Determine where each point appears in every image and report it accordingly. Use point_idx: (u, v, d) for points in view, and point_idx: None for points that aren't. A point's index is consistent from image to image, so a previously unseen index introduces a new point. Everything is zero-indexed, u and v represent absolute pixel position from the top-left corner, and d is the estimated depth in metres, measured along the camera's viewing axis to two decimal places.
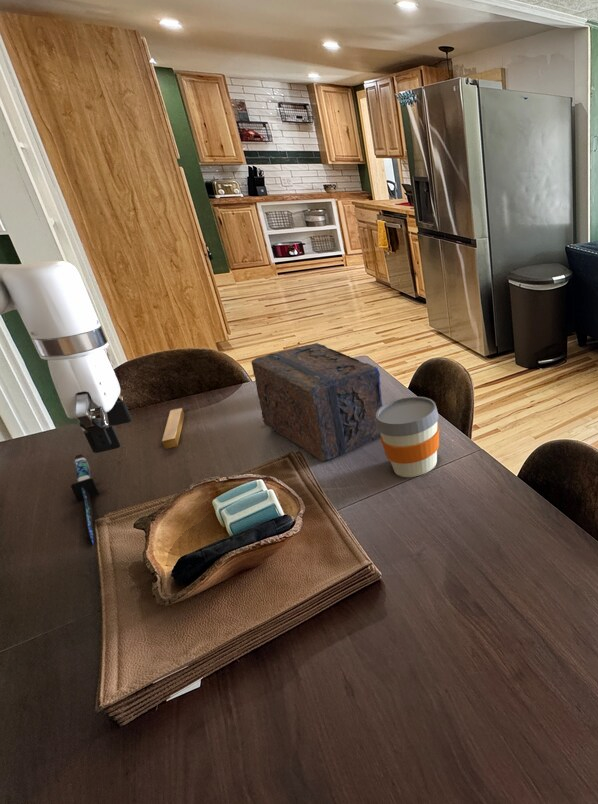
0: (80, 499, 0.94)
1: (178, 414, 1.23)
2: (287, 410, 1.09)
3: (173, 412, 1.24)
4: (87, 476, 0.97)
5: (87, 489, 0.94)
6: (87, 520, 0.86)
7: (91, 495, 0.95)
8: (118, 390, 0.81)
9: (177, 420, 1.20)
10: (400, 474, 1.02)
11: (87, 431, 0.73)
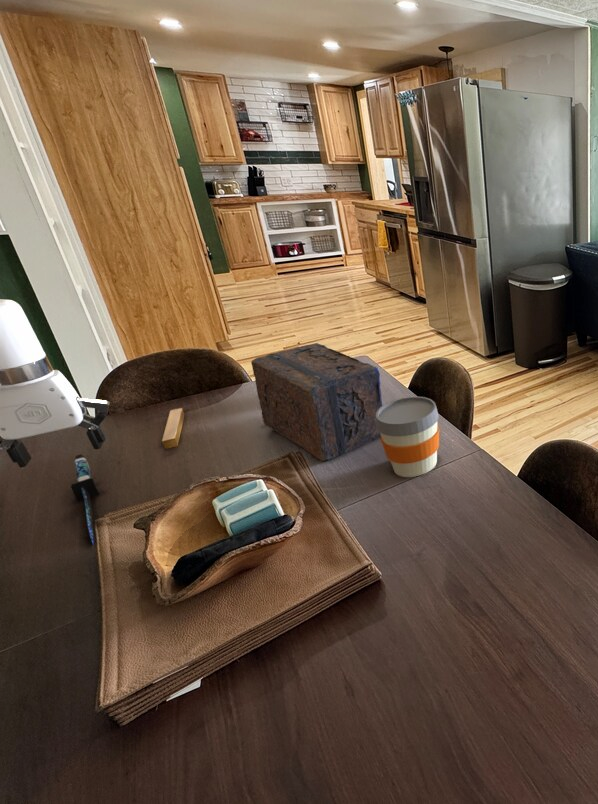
0: (80, 499, 0.94)
1: (178, 414, 1.23)
2: (287, 410, 1.09)
3: (173, 412, 1.24)
4: (87, 476, 0.97)
5: (87, 489, 0.94)
6: (87, 520, 0.86)
7: (91, 495, 0.95)
8: None
9: (177, 420, 1.20)
10: (400, 474, 1.02)
11: (98, 426, 0.89)
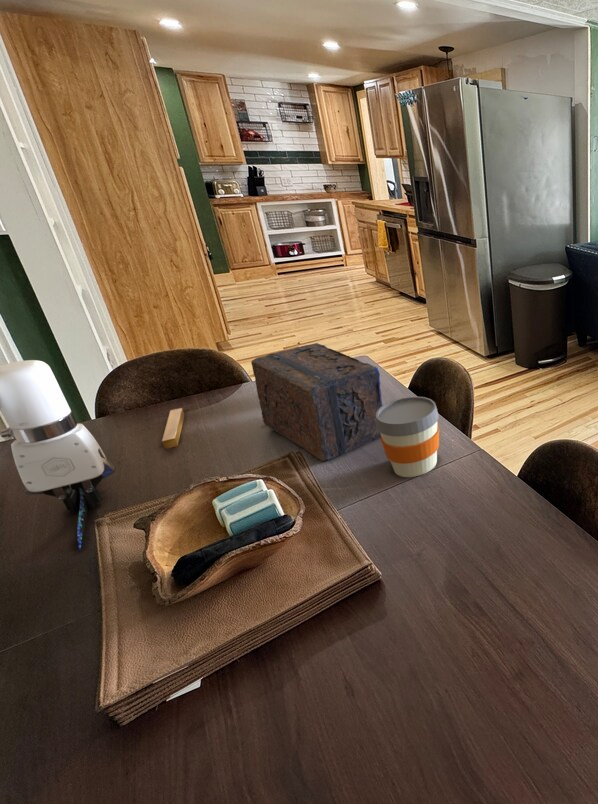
0: None
1: (178, 414, 1.23)
2: (287, 410, 1.09)
3: (173, 412, 1.24)
4: None
5: None
6: (78, 523, 0.85)
7: None
8: None
9: (177, 420, 1.20)
10: (400, 474, 1.02)
11: (94, 487, 0.92)
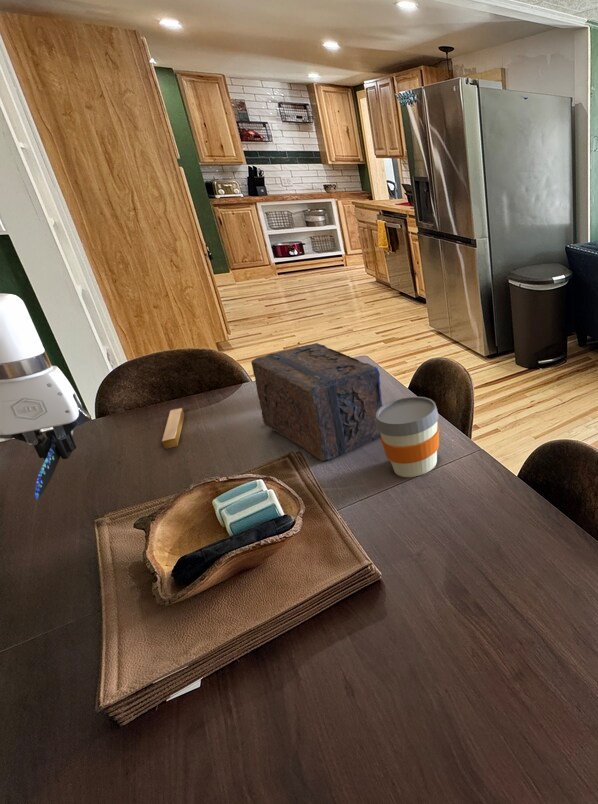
0: None
1: (178, 414, 1.23)
2: (287, 410, 1.09)
3: (173, 412, 1.24)
4: None
5: None
6: (40, 470, 0.80)
7: None
8: None
9: (177, 420, 1.20)
10: (400, 474, 1.02)
11: (67, 435, 0.87)
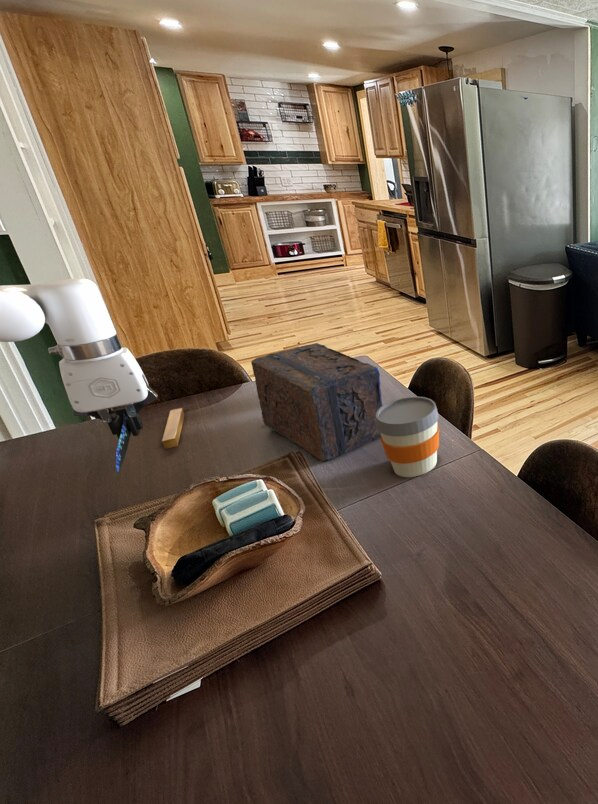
0: None
1: (178, 414, 1.23)
2: (287, 410, 1.09)
3: (173, 412, 1.24)
4: None
5: None
6: (117, 445, 0.85)
7: None
8: None
9: (177, 420, 1.20)
10: (400, 474, 1.02)
11: (137, 413, 0.92)
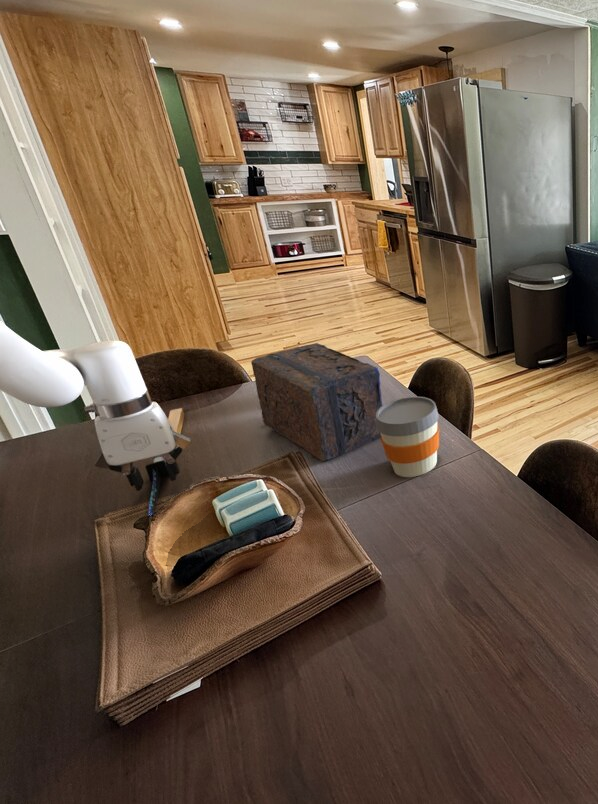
0: (152, 479, 1.00)
1: (178, 414, 1.23)
2: (287, 410, 1.09)
3: (173, 412, 1.24)
4: (162, 458, 1.03)
5: (159, 470, 1.00)
6: (149, 503, 0.90)
7: (162, 476, 1.01)
8: None
9: (177, 420, 1.20)
10: (400, 474, 1.02)
11: (175, 459, 0.98)
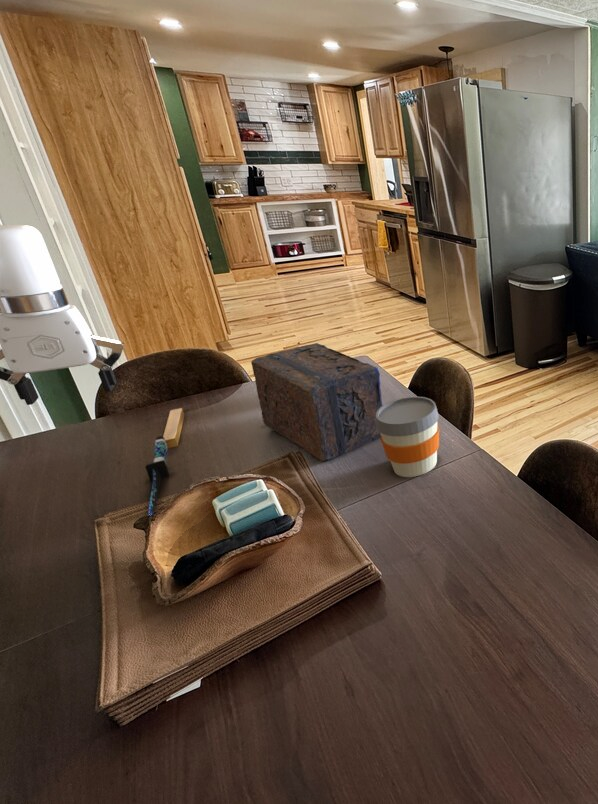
0: (152, 479, 1.00)
1: (178, 414, 1.23)
2: (287, 410, 1.09)
3: (173, 412, 1.24)
4: (162, 458, 1.03)
5: (159, 470, 1.00)
6: (149, 503, 0.90)
7: (162, 476, 1.01)
8: None
9: (177, 420, 1.20)
10: (400, 474, 1.02)
11: (111, 367, 0.86)
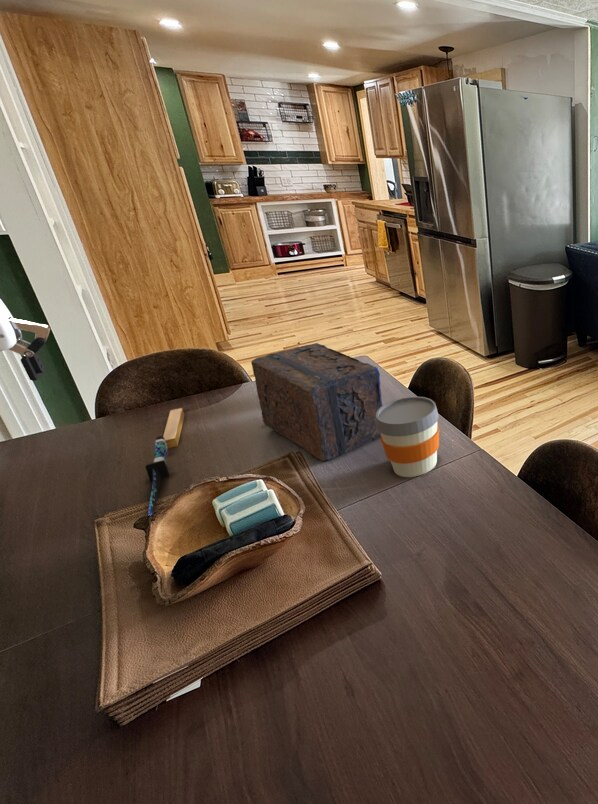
0: (152, 479, 1.00)
1: (178, 414, 1.23)
2: (287, 410, 1.09)
3: (173, 412, 1.24)
4: (162, 458, 1.03)
5: (159, 470, 1.00)
6: (149, 503, 0.90)
7: (162, 476, 1.01)
8: None
9: (177, 420, 1.20)
10: (400, 474, 1.02)
11: (35, 353, 0.77)
